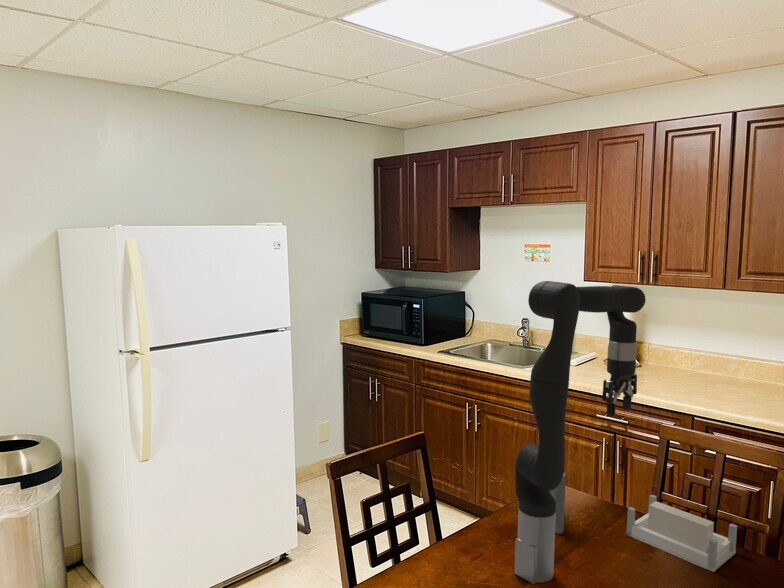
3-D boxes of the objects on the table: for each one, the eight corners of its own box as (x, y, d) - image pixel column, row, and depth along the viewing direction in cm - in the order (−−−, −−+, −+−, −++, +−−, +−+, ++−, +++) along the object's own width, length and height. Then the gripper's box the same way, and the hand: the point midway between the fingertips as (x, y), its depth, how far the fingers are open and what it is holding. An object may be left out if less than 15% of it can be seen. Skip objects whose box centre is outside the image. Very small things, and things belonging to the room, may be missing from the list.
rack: (713, 572, 153) (715, 543, 152) (626, 534, 171) (627, 508, 170) (735, 553, 162) (737, 525, 161) (650, 519, 180) (651, 494, 179)
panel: (705, 555, 159) (707, 526, 158) (647, 531, 171) (649, 505, 170) (712, 549, 161) (713, 522, 161) (654, 527, 174) (656, 501, 173)
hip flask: (565, 533, 172) (567, 467, 169) (551, 533, 172) (553, 467, 169) (549, 507, 187) (551, 447, 185) (536, 507, 187) (538, 447, 185)
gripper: (620, 362, 159) (617, 421, 161) (647, 355, 168) (644, 411, 170) (595, 357, 165) (593, 414, 166) (622, 351, 174) (619, 404, 175)
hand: (618, 412), depth 168 cm, fingers open, 8 cm apart
